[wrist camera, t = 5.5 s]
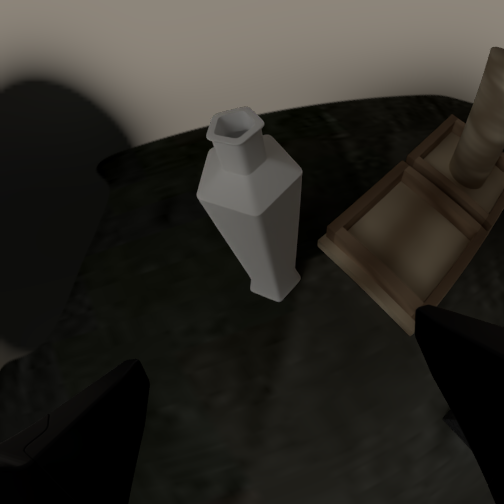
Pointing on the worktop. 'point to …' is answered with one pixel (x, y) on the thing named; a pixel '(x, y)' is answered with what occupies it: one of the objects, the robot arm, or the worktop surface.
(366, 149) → the worktop surface
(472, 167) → the wooden billet
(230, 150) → the perfume bottle
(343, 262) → the divided wooden tray
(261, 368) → the worktop surface
